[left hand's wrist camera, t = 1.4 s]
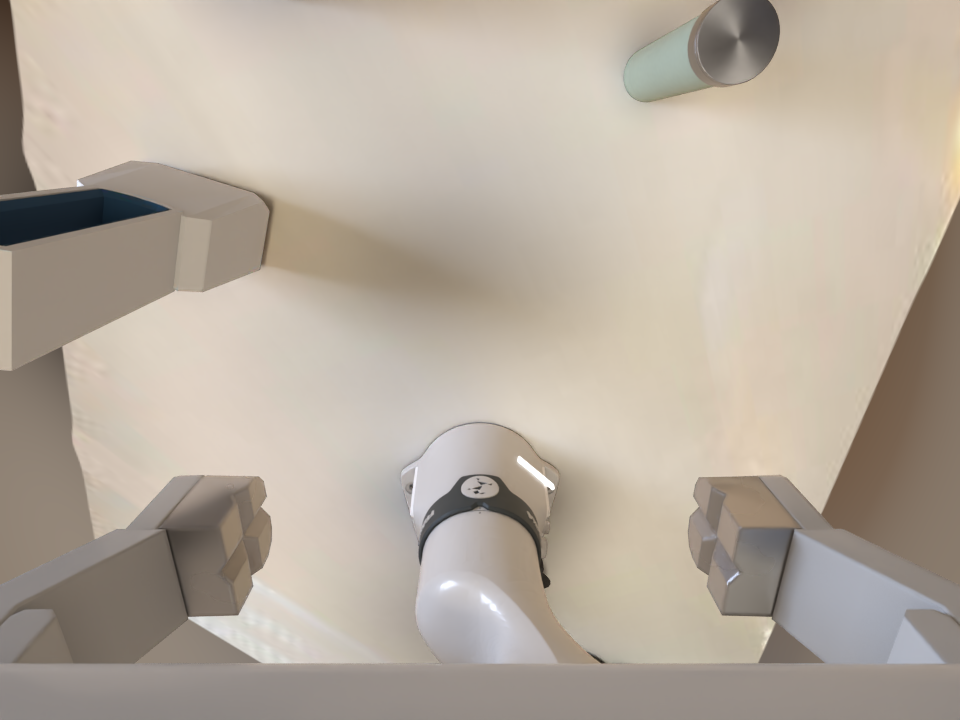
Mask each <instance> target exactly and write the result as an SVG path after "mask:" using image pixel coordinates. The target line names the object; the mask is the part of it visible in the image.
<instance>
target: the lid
mask: <svg viewBox="0 0 960 720" xmlns="http://www.w3.org/2000/svg"><path fill="white" fill-rule="evenodd" d="M779 35H780V25H779V19H778V16H777V13H776V11H775V9H774V7H773V6H772V4H771V3H770V2H769V1H768V0H719V1H717V2H715V3H714V4H712V5H711V6H709V7H708V8H707V9H706V10H705V11H704V12H703V13H702V14H701V15H700V16H699V17H698V19H697V20H696V22H695V24H694V26H693V27H692V30H691V32H690V36H689V40H688V59H689V63H690V66H691V68H692V70H693V72H694V73H695V75H696V76H697V77H698V78H699V79H700V80H701V81H703V82H704V83H706V84H708V85H711V86H714V87H728V86H732V85H737V84H741V83H744V82H747V81H749V80H751V79H753V78H754V77H756V76H757V75H758V74H760V73H761V72H762V71H763V70H764V69H765V68H766V67H767V65H768V64H769V62H770V61H771V59H772V58H773V56H774V53H775V51H776V49H777V46H778V41H779Z"/></svg>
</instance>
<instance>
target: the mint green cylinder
mask: <svg viewBox="0 0 960 720" xmlns="http://www.w3.org/2000/svg"><path fill="white" fill-rule="evenodd" d="M699 16H700V15H699ZM699 16H698V17H699ZM698 17H696V18H694V19H692V20H691V21H689V22H687V23H685V24H684V25H682V26H680V27H679V28H677V29H675V30H673V31H672V32H670V33H668V34H666V35H665V36H663V37H661V38H659V39H658V40H656V41H654V42H653V43H651V44H649V45H647V46H646V47H644V48H642V49H640V50H639V51H637V52H636V53H635V54H634V55H632V57H631V58H630V59H629V61H628V63H627V65H626V67H625V71H624V84H625V87H626V90H627V91H628V93H629V94H630V95H631V96H632V97H633V98H634V99H636V100H638V101H641V102H651V101H655V100H659V99H664V98H668V97H672V96H676V95H681V94H685V93H689V92H693V91H697V90H702V89H706V88H710V87H714V86H711V85H708V84H706V83H704V82H703V81H701V80H700V79H699V78H698V77H697V76H696V75H695V73H694V72H693V70H692V68H691V66H690V63H689V59H688V40H689V36H690V32H691V30H692V27H693V26H694V24H695V22H696V20H697V19H698Z"/></svg>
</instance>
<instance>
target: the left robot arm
mask: <svg viewBox="0 0 960 720" xmlns="http://www.w3.org/2000/svg"><path fill="white" fill-rule="evenodd" d="M401 484H402V488H403V491H404V494H405V498H406V501H407V505H408V508H409V511H410V515H411V518H412V522H413V525H414V528H415V532H416V535H417V539H418V542H419V543H418V546H419V561H420V565H421V569H420V576H419V583H418V590H417V598H416V605H415V616H416V622H417V626H418V629H419V632H420V634H421V636H422V638H423V639H424V641H425V643H426V644H427V646H428V647H429V649H430V650H431V652H432V653H433V654H434V656H435V657H436V658H437V659H438V660H439V661H440V662H441V663H442V664H134V663H135V662H137V661H138V660H139V659H140V658H141V657H143V656H144V655H145V654H146V653H148V652H149V651H150V650H151V649H152V648H154V647H155V646H156V645H157V644H159V643H160V642H161V641H162V640H163V639H165V638H166V637H167V636H168V635H169V634H171V633H172V632H173V631H174V630H176V629H177V628H178V627H179V626H180V625H182V624H183V623H184V622H185V621H187V620H188V617H195V616H230V615H238V614H239V613H240V611H241V609H242V607H243V605H244V603H245V601H246V599H247V597H248V595H249V593H250V591H251V589H252V587H253V582H252V577H251V575H253V574H254V573H256V572H257V571H259V570H260V569H261V568H263V566H264V564H265V562H266V560H267V558H268V555H269V550H270V546H271V541H272V525H271V519H270V516H269V515H268V514H267V513H266V512H265V511H264V510H263V509H262V508H261V505H262V504H263V502H264V500H265V499H266V497H267V495H266V490H265V485H264V481H263V480H262V479H261V478H260V477H256V476H204V475H181V476H177V477H174V478H173V479H172V480H171V481H170V482H169V483H168V484H167V485H166V486H165V487H164V488H163V489H162V491H161V492H160V493H159V494H158V495H157V496H156V497H155V498H154V499H153V500H152V501H151V502H150V503H149V505H148V506H147V507H146V508H145V509H144V510H143V511H142V512H141V513H140V514H139V515H138V516H137V518H136V519H135V520H134V521H133V522H132V523H131V524H130V525H129V526H128V527H127V528H126V529H116V530H114V531H112V532H110V533H108V534H106V535H104V536H102V537H99V538H97V539H95V540H93V541H91V542H89V543H87V544H85V545H83V546H81V547H79V548H77V549H74V550H72V551H70V552H68V553H66V554H64V555H62V556H60V557H58V558H56V559H54V560H52V561H49V562H47V563H45V564H43V565H41V566H39V567H37V568H35V569H33V570H31V571H29V572H26V573H24V574H22V575H20V576H18V577H16V578H14V579H12V580H10V581H8V582H6V583H3V584H1V585H0V720H960V585H958V584H956V583H954V582H952V581H950V580H948V579H946V578H944V577H942V576H940V575H938V574H935V573H933V572H931V571H929V570H927V569H925V568H923V567H921V566H919V565H917V564H915V563H912V562H910V561H908V560H906V559H904V558H902V557H900V556H898V555H896V554H894V553H892V552H890V551H888V550H885V549H883V548H881V547H879V546H877V545H875V544H873V543H871V542H869V541H867V540H865V539H862V538H860V537H858V536H856V535H854V534H852V533H850V532H848V531H846V530H844V529H834V528H833V527H832V526H831V525H830V524H829V523H828V522H827V521H826V520H825V519H824V518H823V516H822V515H821V514H820V513H819V512H818V511H817V510H816V509H815V508H814V507H813V506H812V505H811V503H810V502H809V501H808V500H807V499H806V498H805V497H804V496H803V495H802V494H801V493H800V492H799V490H798V489H797V488H796V487H795V486H794V485H793V484H792V483H791V482H790V481H789V480H788V479H787V478H786V477H784V476H781V475H765V476H741V477H699V478H698V480H697V482H696V484H695V489H694V495H693V497H694V499H695V500H696V502H697V504H698V505H699V508H698V509H697V510H696V511H695V512H694V513H693V514H692V515H691V516H690V519H689V527H688V539H689V548H690V551H691V554H692V558H693V560H694V562H695V564H696V566H697V568H699V569H700V570H701V571H703V572H704V573H706V574H707V575H709V577H708V582H707V588H708V589H709V591H710V593H711V595H712V597H713V599H714V601H715V603H716V605H717V607H718V609H719V611H720V612H721V614H722V615H729V616H765V617H772V620H774V621H775V622H776V623H777V624H779V625H780V626H781V627H782V628H783V629H785V630H786V631H787V632H788V633H789V634H791V635H792V636H793V637H794V638H796V639H797V640H798V641H799V642H800V643H802V644H803V645H804V646H805V647H807V648H808V649H809V650H810V651H811V652H813V653H814V654H815V655H816V656H818V657H819V658H820V659H821V660H822V661H824V662H825V663H826V664H604V663H603V662H602V661H600V660H599V659H597V658H595V657H593V656H591V655H590V654H588V653H587V652H586V651H585V650H584V649H583V648H582V647H581V646H580V645H578V644H577V643H576V642H575V641H574V640H573V639H572V637H571V636H570V635H569V634H568V633H567V632H566V631H565V630H564V628H563V627H562V626H561V625H560V623H559V622H558V621H557V619H556V618H555V616H554V615H553V613H552V611H551V609H550V607H549V604H548V601H547V598H546V594H545V591H544V588H547V587H549V585H550V580H549V578H548V577H547V576H546V575H544V574H543V569H544V568H543V561H542V558H545V557H546V554H547V539H545V538H543V535H544V534H548V533H549V530H550V522H549V521H548V518H549V515H550V511H551V508H552V505H553V501H554V498H555V494H556V491H557V488H558V484H559V472H558V470H557V469H556V468H554V467H553V466H552V465H550V464H548V463H547V462H545V461H543V460H541V459H540V458H539V457H538V456H537V454H536V453H535V452H534V450H533V449H532V447H531V446H530V445H529V444H528V443H527V442H526V441H525V440H524V439H523V438H522V437H521V436H519V435H518V434H516V433H515V432H513V431H511V430H509V429H507V428H504V427H501V426H498V425H494V424H487V423H473V424H466V425H462V426H459V427H456V428H453V429H451V430H449V431H447V432H445V433H444V434H442V435H441V436H439V437H438V438H437V439H436V440H435V441H434V442H433V443H432V444H431V445H430V446H429V447H428V449H427V450H426V452H425V453H424V454H423V456H422V457H421V458H420V459H419V460H417V461H415V462H413V463H412V464H410V465H408V466H407V467H406V468H404V469H403V470H402V472H401ZM411 484H413V487H412V486H410V485H411ZM547 486H548V487H547Z"/></svg>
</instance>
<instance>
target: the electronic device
mask: <svg viewBox="0 0 960 720" xmlns="http://www.w3.org/2000/svg"><path fill="white" fill-rule="evenodd" d="M269 212H270V211H269V209H268V208H267V206H266V204H265V203H264V201H263V200H261V199H260V198H259V197H258V196H257V195H256V194H255V193H253V192H249V191H246V190H243V189H240V188H236V187H233V186H230V185H227V184H223V183H220V182H217V181H214V180H210V179H207V178H204V177H201V176H198V175H194V174H191V173H188V172H185V171H181V170H178V169H175V168H172V167H168V166H165V165H162V164H159V163H149V162H139V161H129V162H126V163H123V164H120V165H118V166H115V167H112V168H109V169H106V170H104V171H101V172H98V173H95V174H92V175H89V176H87V177H84V178H81V179H78V180H77V187H69V188H60V189H51V190H42V191H33V192H24V193H15V194H7V195H0V370H9V371H12V370H14V369H16V368H18V367H20V366H22V365H24V364H26V363H28V362H31V361H33V360H35V359H37V358H39V357H41V356H43V355H45V354H47V353H49V352H51V351H53V350H55V349H57V348H59V347H61V346H63V345H65V344H67V343H69V342H72V341H74V340H76V339H78V338H80V337H82V336H84V335H86V334H88V333H90V332H92V331H94V330H96V329H98V328H100V327H102V326H104V325H106V324H108V323H110V322H112V321H114V320H117V319H119V318H121V317H123V316H125V315H127V314H129V313H131V312H133V311H135V310H137V309H139V308H141V307H143V306H145V305H147V304H149V303H151V302H153V301H155V300H157V299H160V298H162V297H164V296H166V295H168V294H170V293H172V292H174V291H175V290H177V291H190V292H204V291H207V290H209V289H212V288H214V287H217V286H220V285H222V284H225V283H227V282H230V281H232V280H235V279H237V278H240V277H242V276H245V275H248V274H250V273H253V272H255V271H258V270H260V266H261V260H262V254H263V248H264V242H265V236H266V230H267V224H268V218H269Z"/></svg>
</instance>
